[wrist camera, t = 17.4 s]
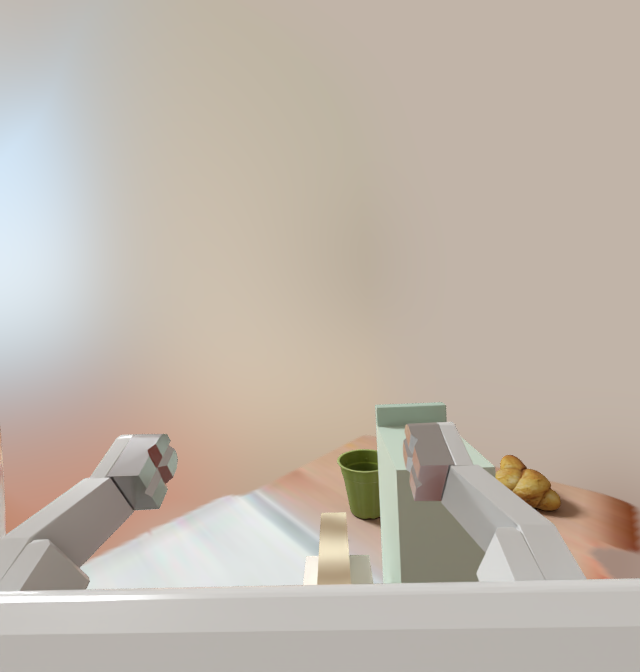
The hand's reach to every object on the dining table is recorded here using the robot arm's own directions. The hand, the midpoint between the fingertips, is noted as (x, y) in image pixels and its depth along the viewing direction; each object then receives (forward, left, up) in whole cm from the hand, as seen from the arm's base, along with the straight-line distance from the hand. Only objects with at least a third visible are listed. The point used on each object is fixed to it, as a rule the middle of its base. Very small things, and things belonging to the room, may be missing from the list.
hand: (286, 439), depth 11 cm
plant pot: (+35, +46, -37) cm, 69 cm away
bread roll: (+66, +30, -37) cm, 81 cm away
